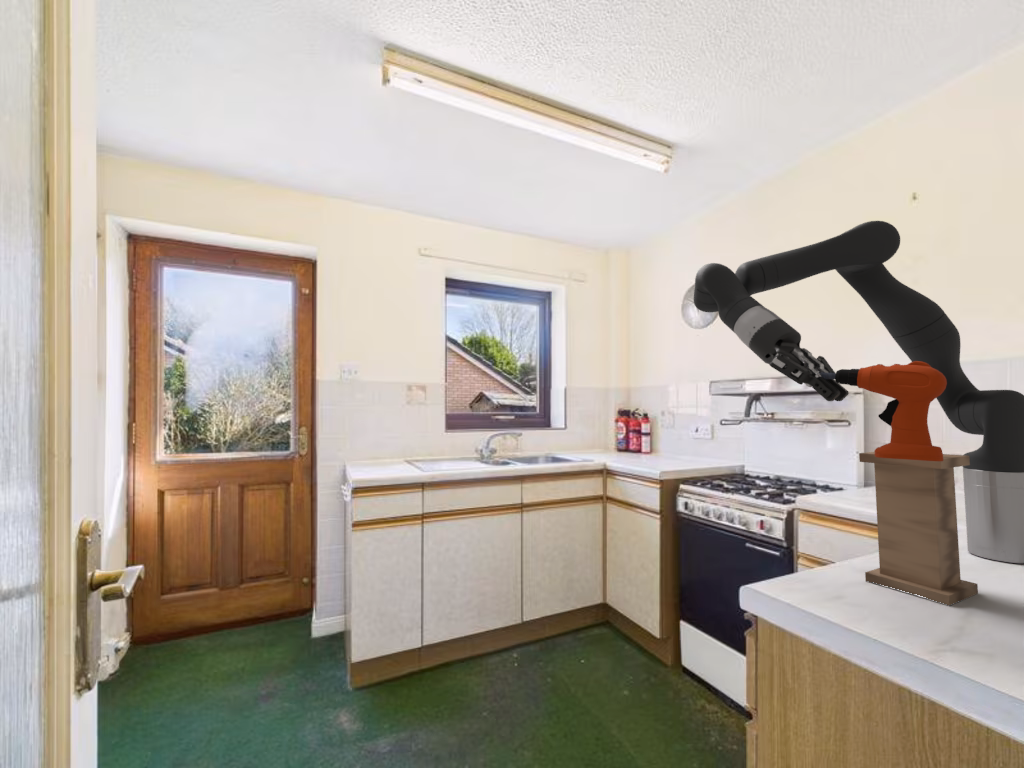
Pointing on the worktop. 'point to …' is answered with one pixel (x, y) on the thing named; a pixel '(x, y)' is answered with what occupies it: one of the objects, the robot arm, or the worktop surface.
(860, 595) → the worktop surface
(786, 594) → the worktop surface
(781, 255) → the robot arm
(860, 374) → the toy drill
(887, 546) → the walnut stand
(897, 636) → the worktop surface
